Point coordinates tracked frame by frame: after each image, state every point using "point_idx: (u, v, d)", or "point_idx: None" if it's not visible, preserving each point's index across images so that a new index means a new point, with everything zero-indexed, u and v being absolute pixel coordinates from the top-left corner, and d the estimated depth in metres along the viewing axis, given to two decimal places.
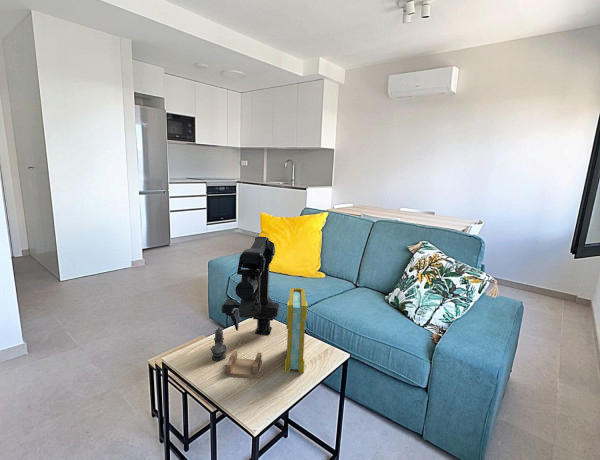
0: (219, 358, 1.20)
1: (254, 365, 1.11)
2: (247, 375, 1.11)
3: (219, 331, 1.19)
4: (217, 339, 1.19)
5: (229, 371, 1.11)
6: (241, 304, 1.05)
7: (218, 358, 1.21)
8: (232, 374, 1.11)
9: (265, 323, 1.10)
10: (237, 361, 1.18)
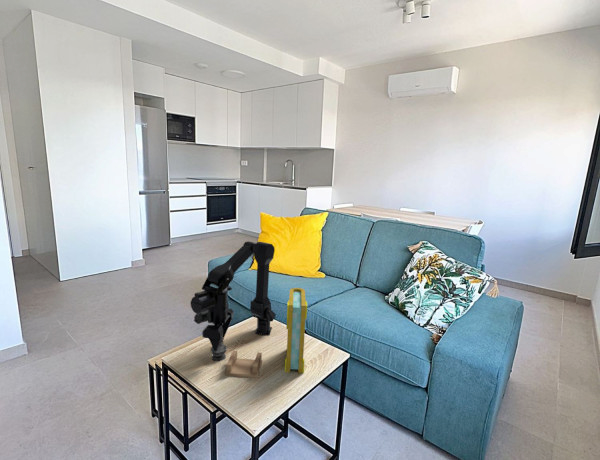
0: (219, 358, 1.20)
1: (254, 365, 1.11)
2: (247, 375, 1.11)
3: None
4: None
5: (229, 371, 1.11)
6: None
7: (218, 358, 1.21)
8: (232, 374, 1.11)
9: None
10: (237, 361, 1.18)
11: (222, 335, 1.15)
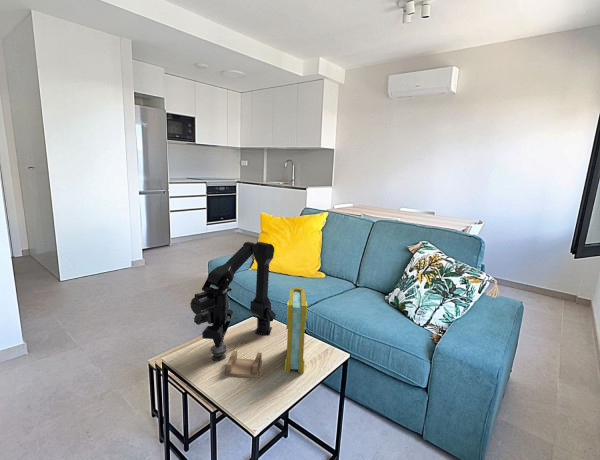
0: (219, 358, 1.20)
1: (254, 365, 1.11)
2: (247, 375, 1.11)
3: None
4: None
5: (229, 371, 1.11)
6: None
7: (218, 357, 1.21)
8: (232, 374, 1.11)
9: None
10: (237, 361, 1.18)
11: (224, 332, 1.17)
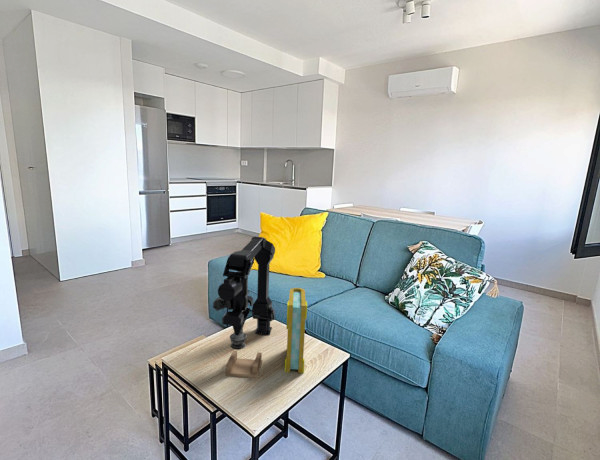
0: (239, 346, 1.14)
1: (254, 365, 1.11)
2: (247, 375, 1.11)
3: None
4: None
5: (229, 371, 1.11)
6: None
7: (238, 346, 1.14)
8: (232, 374, 1.11)
9: None
10: (237, 361, 1.18)
11: (244, 319, 1.11)
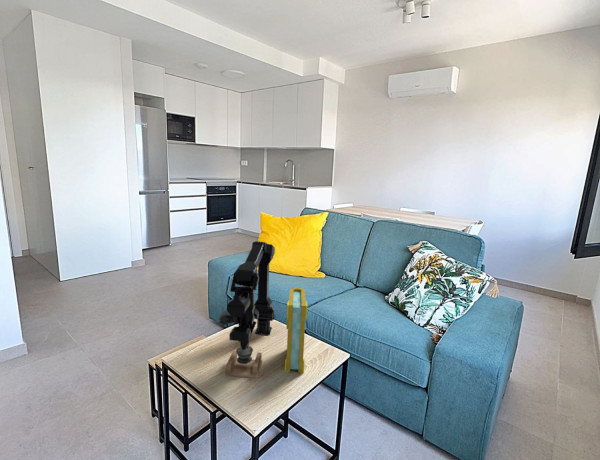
0: (245, 361, 1.13)
1: (254, 365, 1.11)
2: (247, 375, 1.11)
3: None
4: None
5: (229, 371, 1.11)
6: None
7: (244, 360, 1.14)
8: (232, 374, 1.11)
9: None
10: None
11: (251, 333, 1.10)
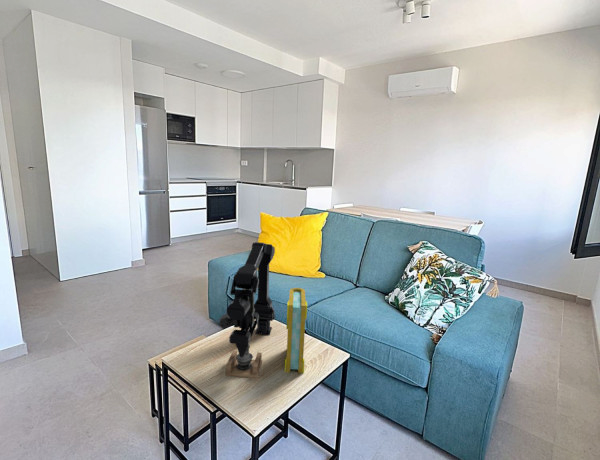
0: (245, 367, 1.14)
1: (254, 365, 1.11)
2: (247, 375, 1.11)
3: None
4: None
5: (229, 371, 1.11)
6: None
7: (244, 367, 1.14)
8: (232, 374, 1.11)
9: None
10: None
11: None
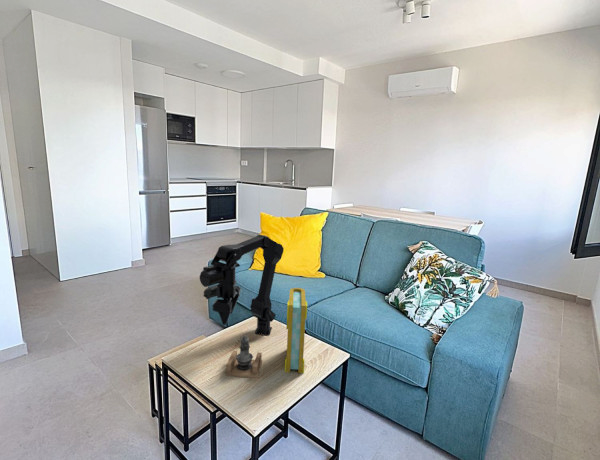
0: (245, 367, 1.14)
1: (254, 365, 1.11)
2: (247, 375, 1.11)
3: (245, 339, 1.13)
4: (243, 347, 1.13)
5: (229, 371, 1.11)
6: (213, 286, 1.25)
7: (244, 367, 1.14)
8: (232, 374, 1.11)
9: None
10: None
11: (231, 309, 1.18)
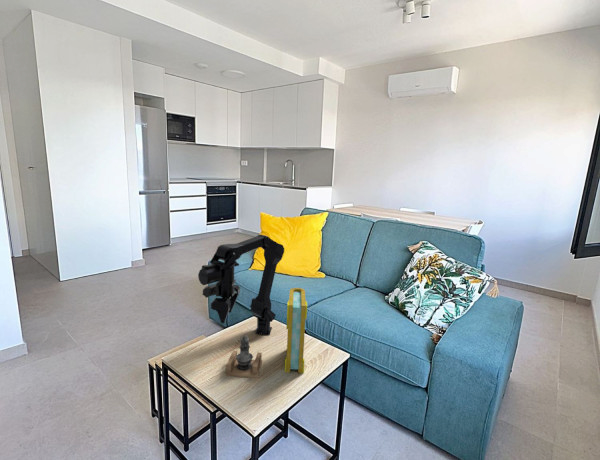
0: (245, 367, 1.14)
1: (254, 365, 1.11)
2: (247, 375, 1.11)
3: (245, 339, 1.13)
4: (243, 347, 1.13)
5: (229, 371, 1.11)
6: None
7: (244, 367, 1.14)
8: (232, 374, 1.11)
9: None
10: None
11: (229, 308, 1.19)
